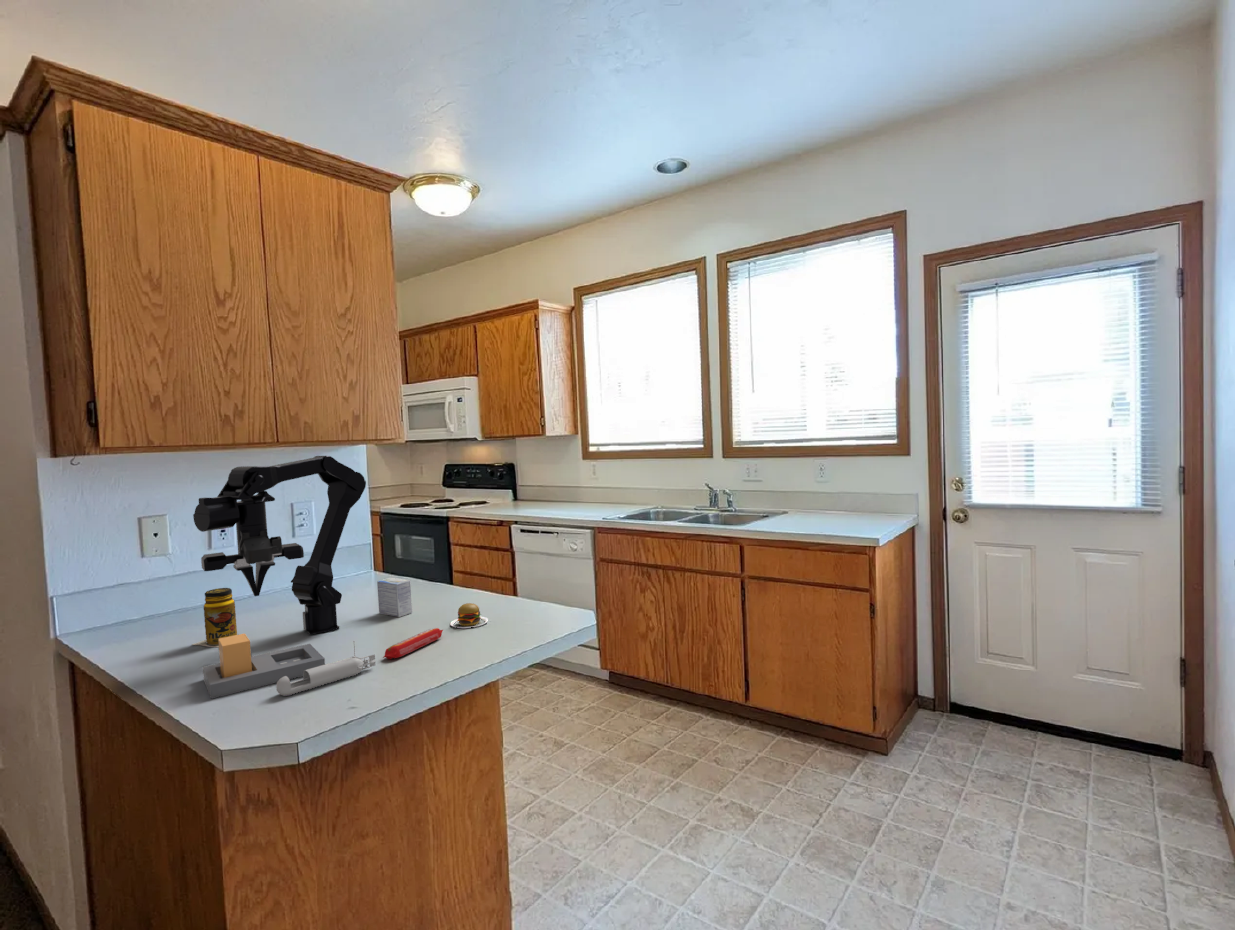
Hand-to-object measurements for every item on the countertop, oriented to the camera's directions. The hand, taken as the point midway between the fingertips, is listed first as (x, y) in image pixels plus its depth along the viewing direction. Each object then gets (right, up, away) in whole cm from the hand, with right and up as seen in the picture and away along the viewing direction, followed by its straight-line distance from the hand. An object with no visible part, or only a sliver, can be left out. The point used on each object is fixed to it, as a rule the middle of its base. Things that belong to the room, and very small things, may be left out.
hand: (256, 595), depth 139 cm
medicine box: (+21, -10, +26) cm, 35 cm away
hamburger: (+43, -11, +15) cm, 46 cm away
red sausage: (+35, -11, -2) cm, 37 cm away
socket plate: (+10, -12, -15) cm, 22 cm away
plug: (+5, -12, -16) cm, 21 cm away
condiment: (-13, -12, +8) cm, 20 cm away
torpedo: (+24, -13, -19) cm, 34 cm away
